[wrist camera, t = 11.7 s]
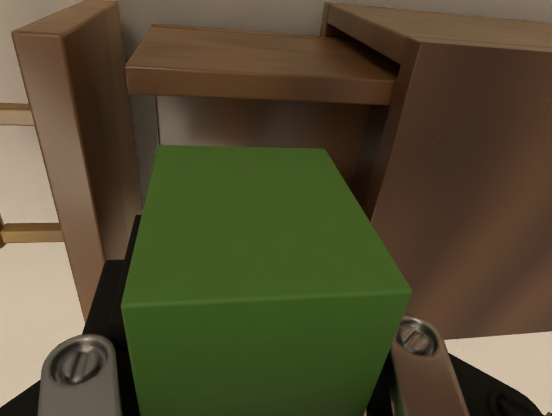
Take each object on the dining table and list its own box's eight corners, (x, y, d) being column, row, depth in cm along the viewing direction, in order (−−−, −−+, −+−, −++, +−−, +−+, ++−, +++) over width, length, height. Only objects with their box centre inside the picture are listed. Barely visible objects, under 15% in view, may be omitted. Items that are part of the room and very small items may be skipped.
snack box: (171, 326, 14) (156, 511, 9) (157, 143, 10) (119, 306, 5) (294, 319, 14) (336, 486, 10) (325, 147, 11) (415, 291, 6)
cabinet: (292, 222, 25) (335, 349, 17) (324, 1, 18) (420, 41, 10) (492, 219, 27) (609, 327, 20) (585, 26, 21) (822, 73, 13)
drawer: (30, 227, 21) (-46, 348, 15) (-45, -14, 15) (-232, 14, 8) (347, 221, 24) (399, 319, 18) (394, 24, 18) (500, 64, 12)
